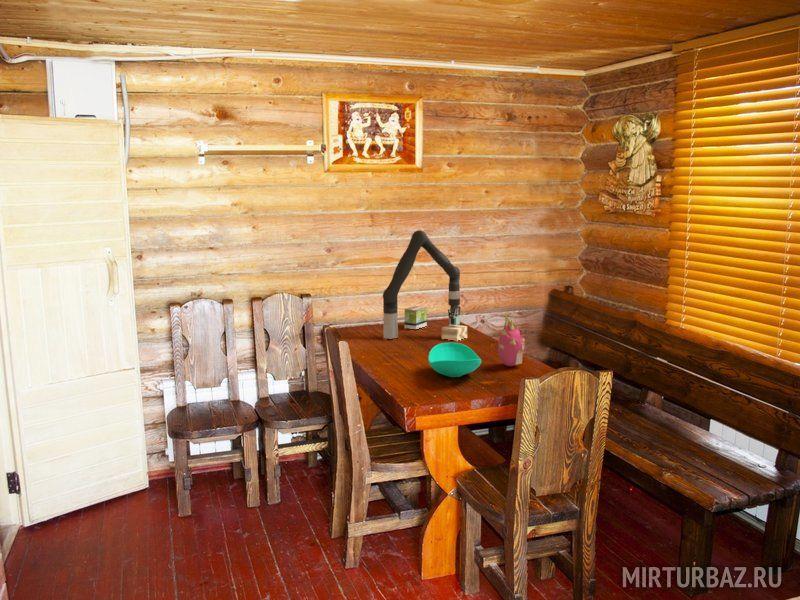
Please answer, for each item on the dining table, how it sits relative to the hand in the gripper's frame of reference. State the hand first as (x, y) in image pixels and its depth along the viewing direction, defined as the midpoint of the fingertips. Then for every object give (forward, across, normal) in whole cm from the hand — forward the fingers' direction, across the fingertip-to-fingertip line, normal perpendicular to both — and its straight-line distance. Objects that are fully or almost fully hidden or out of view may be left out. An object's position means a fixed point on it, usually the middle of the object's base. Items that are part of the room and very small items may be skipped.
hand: (454, 323), depth 452 cm
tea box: (+10, +17, +38) cm, 43 cm away
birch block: (+10, 0, 0) cm, 10 cm away
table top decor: (+10, -77, -37) cm, 86 cm away
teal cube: (+1, 0, 0) cm, 1 cm away
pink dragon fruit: (+10, -47, -57) cm, 75 cm away
